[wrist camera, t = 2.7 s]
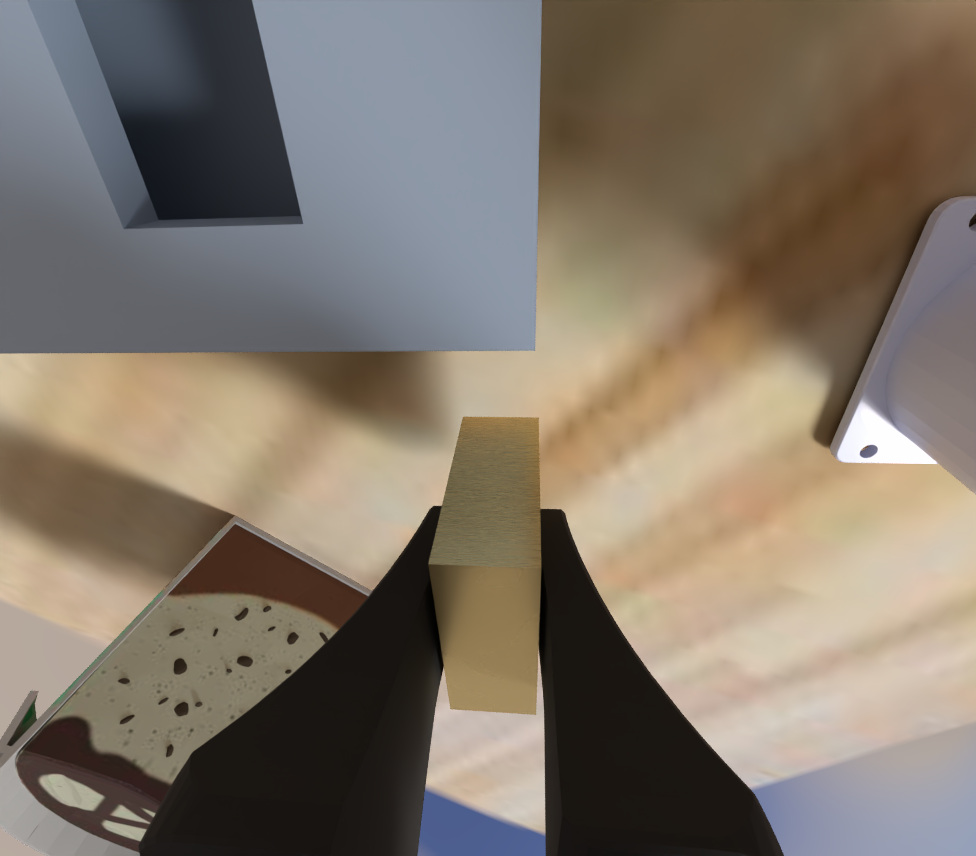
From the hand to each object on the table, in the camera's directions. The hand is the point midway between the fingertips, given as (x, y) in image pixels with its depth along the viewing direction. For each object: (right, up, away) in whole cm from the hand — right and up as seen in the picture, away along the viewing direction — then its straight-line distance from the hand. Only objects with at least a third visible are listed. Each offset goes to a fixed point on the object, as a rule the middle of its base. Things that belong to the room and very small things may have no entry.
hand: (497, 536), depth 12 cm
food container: (-9, -5, +11) cm, 15 cm away
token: (0, +1, +2) cm, 2 cm away
